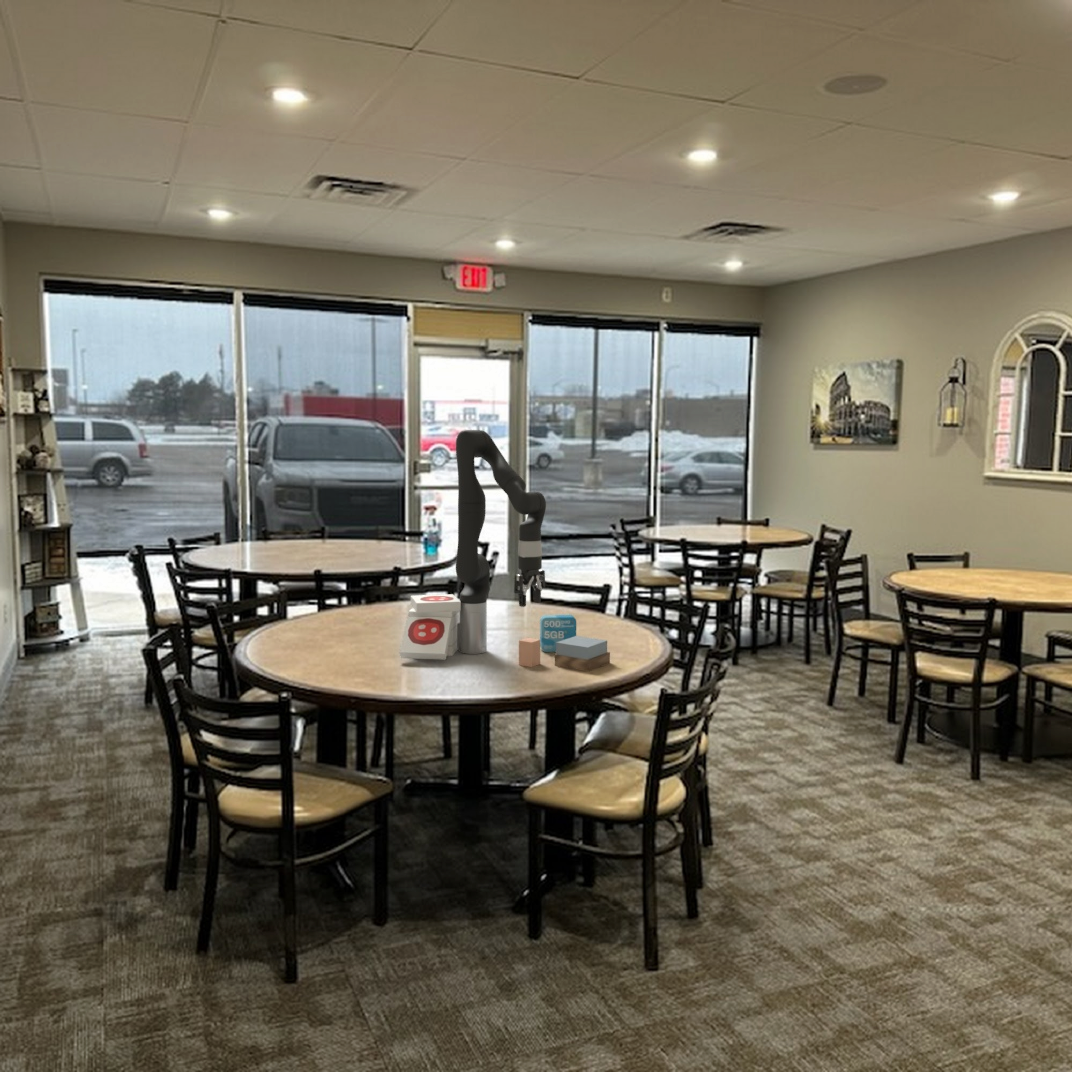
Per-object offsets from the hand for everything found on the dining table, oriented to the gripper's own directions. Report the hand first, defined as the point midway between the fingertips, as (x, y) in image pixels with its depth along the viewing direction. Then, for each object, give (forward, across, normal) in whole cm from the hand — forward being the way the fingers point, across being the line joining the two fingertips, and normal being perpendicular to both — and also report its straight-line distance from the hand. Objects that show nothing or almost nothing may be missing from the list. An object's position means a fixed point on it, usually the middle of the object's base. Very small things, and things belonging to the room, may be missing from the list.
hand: (530, 604), depth 306 cm
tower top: (+16, -10, +14) cm, 23 cm away
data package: (+20, -22, -3) cm, 30 cm away
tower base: (+20, -10, +14) cm, 26 cm away
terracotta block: (+20, 0, 0) cm, 20 cm away
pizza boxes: (+20, +7, -35) cm, 41 cm away
